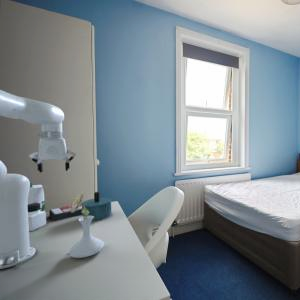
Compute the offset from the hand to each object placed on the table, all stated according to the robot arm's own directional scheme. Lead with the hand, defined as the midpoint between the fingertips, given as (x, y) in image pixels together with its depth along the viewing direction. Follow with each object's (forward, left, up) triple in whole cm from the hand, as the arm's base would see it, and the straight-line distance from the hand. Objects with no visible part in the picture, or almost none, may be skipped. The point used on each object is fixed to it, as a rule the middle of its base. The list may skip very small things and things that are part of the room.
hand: (54, 171), depth 100 cm
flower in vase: (-34, -13, -28) cm, 46 cm away
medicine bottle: (+7, +10, -28) cm, 31 cm away
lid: (+6, -17, -20) cm, 27 cm away
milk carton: (+20, +12, -28) cm, 37 cm away
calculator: (+18, -3, -28) cm, 34 cm away
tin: (+6, -17, -28) cm, 34 cm away
